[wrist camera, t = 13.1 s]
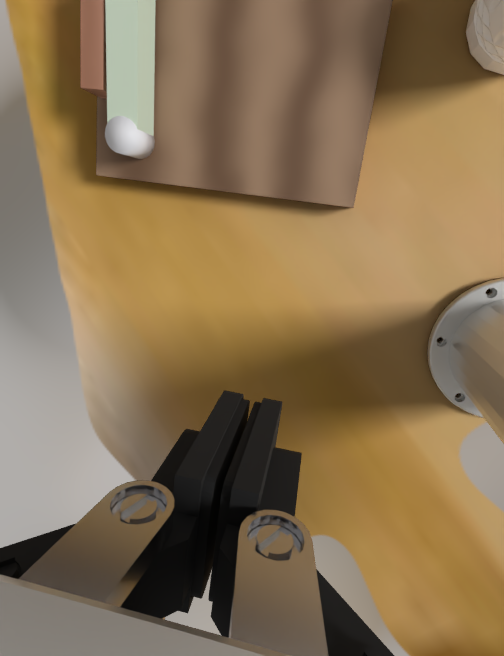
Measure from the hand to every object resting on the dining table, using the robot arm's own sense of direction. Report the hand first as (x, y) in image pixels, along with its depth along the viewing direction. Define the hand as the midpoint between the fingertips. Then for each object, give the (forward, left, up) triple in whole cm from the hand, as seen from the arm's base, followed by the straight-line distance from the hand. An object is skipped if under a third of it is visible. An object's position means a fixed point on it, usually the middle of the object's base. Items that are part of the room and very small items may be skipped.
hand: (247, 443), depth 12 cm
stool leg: (+15, -17, -24) cm, 33 cm away
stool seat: (+8, -16, -27) cm, 32 cm away
